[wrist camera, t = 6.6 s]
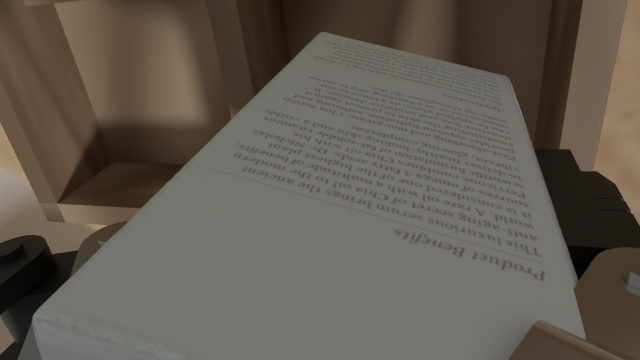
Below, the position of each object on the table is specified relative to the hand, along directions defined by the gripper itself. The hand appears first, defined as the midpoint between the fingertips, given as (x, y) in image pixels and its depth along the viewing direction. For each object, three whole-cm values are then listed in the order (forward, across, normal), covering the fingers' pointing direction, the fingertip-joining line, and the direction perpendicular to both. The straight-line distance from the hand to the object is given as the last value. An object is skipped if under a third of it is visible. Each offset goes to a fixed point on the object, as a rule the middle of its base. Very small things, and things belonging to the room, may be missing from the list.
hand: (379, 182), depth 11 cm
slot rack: (+8, +5, 0) cm, 10 cm away
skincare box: (+5, 0, 0) cm, 5 cm away
